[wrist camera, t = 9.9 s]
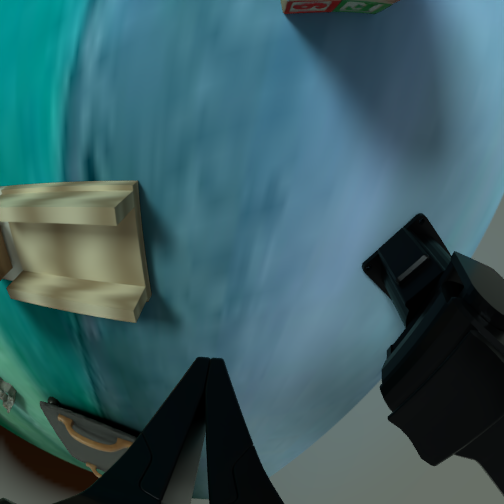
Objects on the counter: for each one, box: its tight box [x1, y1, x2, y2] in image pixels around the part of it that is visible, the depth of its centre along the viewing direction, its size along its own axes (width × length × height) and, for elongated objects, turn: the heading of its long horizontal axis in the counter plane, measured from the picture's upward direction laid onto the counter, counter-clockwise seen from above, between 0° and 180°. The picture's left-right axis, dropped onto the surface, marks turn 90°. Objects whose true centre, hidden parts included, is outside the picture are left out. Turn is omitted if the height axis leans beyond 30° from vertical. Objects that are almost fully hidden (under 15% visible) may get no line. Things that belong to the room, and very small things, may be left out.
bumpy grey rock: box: [0, 378, 16, 413], centre depth 39 cm, size 11×8×4 cm
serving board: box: [40, 397, 137, 478], centre depth 45 cm, size 39×23×6 cm, turn 163°
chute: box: [0, 181, 152, 323], centre depth 20 cm, size 22×10×4 cm, turn 87°
